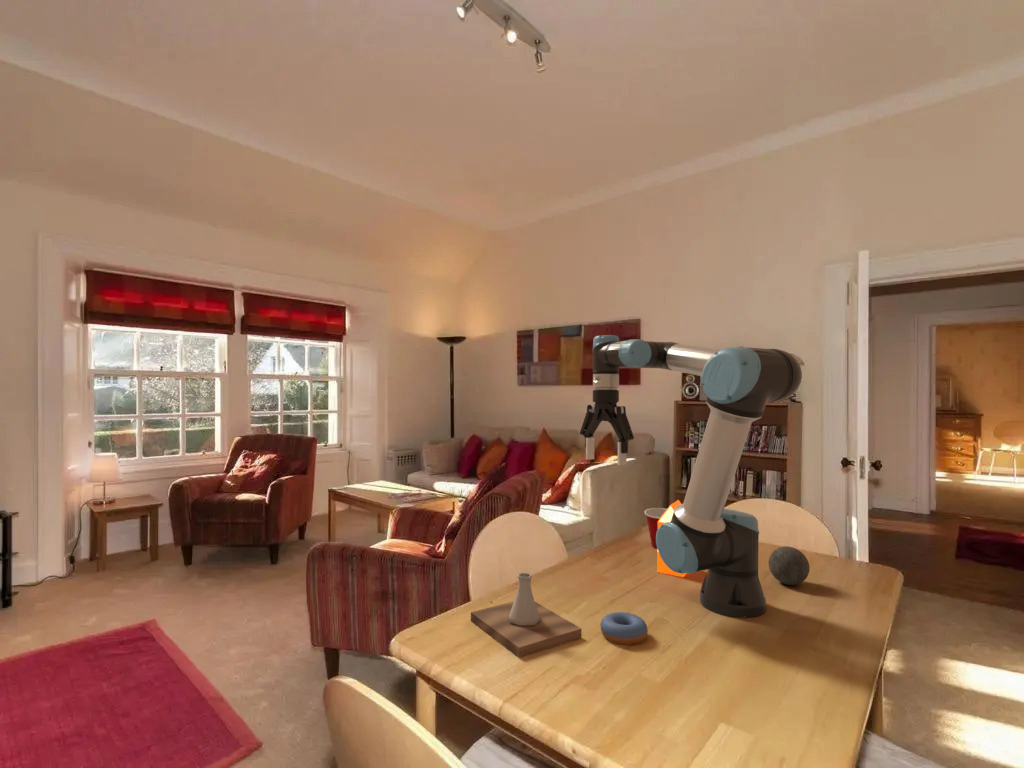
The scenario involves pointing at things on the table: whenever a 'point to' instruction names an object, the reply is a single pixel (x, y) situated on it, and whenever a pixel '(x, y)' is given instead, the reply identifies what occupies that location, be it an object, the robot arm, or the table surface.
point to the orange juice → (660, 564)
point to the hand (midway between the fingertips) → (605, 462)
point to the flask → (524, 603)
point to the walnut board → (525, 629)
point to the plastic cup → (654, 522)
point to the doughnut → (624, 628)
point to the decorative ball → (788, 565)
